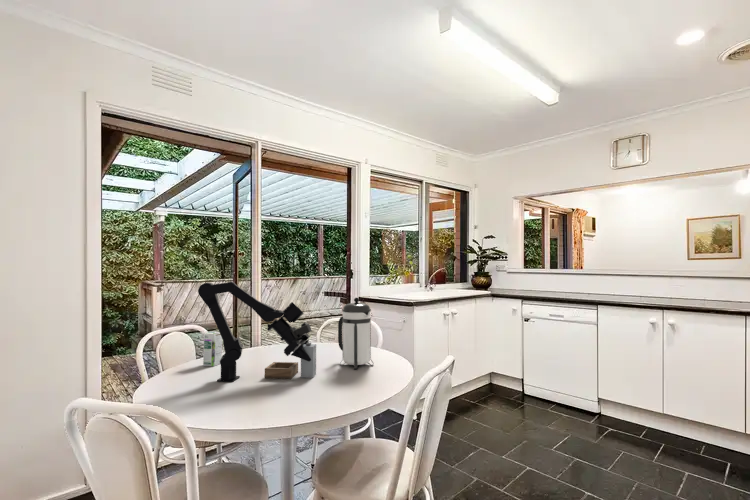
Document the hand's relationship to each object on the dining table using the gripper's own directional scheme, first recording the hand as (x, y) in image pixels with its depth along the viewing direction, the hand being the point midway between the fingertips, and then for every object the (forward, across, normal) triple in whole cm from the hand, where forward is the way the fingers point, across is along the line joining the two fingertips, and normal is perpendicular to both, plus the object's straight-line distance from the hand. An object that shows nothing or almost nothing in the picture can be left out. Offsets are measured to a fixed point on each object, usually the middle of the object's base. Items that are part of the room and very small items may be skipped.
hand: (312, 359), depth 155 cm
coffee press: (+15, +18, -6) cm, 24 cm away
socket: (-4, 0, +14) cm, 14 cm away
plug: (+4, 0, +6) cm, 7 cm away
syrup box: (-30, +15, +40) cm, 52 cm away
